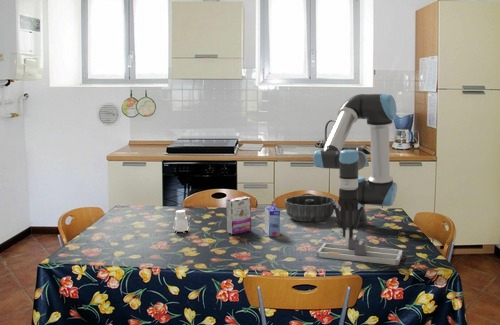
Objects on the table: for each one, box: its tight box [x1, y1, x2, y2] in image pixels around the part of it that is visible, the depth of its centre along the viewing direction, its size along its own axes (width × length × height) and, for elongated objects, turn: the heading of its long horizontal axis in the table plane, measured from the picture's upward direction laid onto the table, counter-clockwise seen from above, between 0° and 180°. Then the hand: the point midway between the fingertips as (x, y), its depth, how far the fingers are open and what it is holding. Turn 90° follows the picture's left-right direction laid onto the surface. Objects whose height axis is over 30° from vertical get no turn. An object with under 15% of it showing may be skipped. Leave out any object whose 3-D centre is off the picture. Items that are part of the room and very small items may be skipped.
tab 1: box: [348, 234, 361, 250], centre depth 232 cm, size 4×4×7 cm
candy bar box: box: [225, 196, 252, 235], centre depth 269 cm, size 11×5×16 cm, turn 126°
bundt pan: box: [283, 194, 337, 223], centre depth 294 cm, size 26×26×10 cm
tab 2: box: [355, 240, 368, 256], centre depth 225 cm, size 4×4×7 cm
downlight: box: [172, 209, 191, 231], centre depth 273 cm, size 8×7×10 cm
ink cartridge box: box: [263, 202, 281, 237], centre depth 265 cm, size 10×6×14 cm, turn 11°
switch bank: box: [315, 242, 403, 266], centre depth 228 cm, size 14×32×4 cm, turn 69°
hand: (347, 244), depth 233 cm, fingers closed
